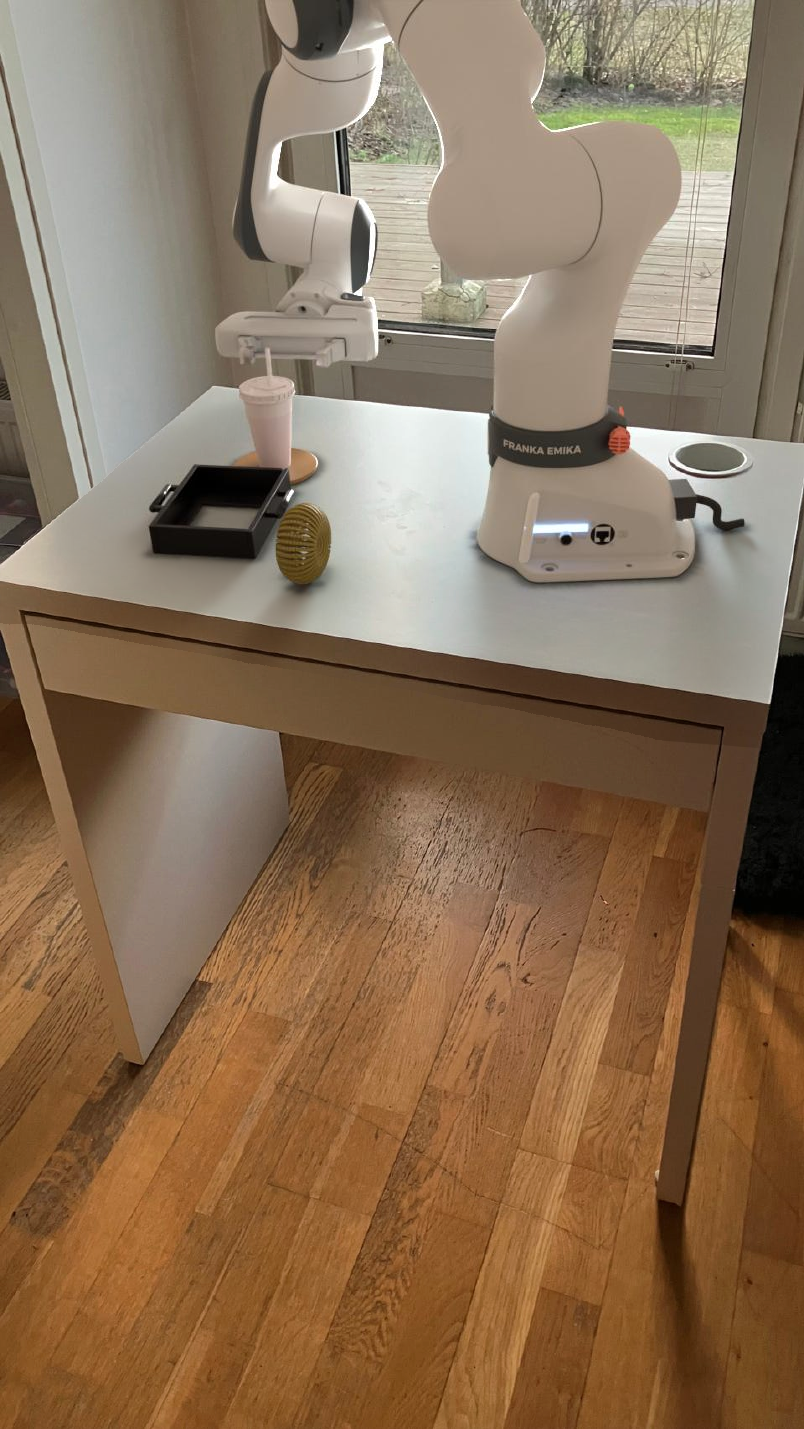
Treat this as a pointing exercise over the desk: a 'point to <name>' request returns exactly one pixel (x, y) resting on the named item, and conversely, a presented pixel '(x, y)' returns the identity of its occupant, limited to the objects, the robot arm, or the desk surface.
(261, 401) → the smoothie
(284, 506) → the pan
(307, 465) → the cork pad
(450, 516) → the desk surface
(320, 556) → the sculpture
